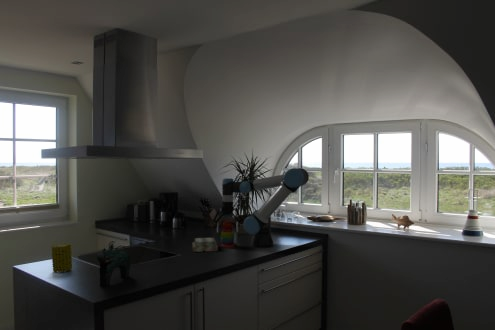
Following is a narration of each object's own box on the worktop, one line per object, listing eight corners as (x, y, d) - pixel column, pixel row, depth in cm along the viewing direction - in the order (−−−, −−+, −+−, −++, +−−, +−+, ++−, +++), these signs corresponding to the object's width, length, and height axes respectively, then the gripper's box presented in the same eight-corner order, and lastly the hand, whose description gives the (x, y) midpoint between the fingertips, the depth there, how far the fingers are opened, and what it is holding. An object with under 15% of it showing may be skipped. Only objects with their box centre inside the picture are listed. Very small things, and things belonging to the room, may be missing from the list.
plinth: (215, 245, 270) (215, 237, 270) (217, 250, 254) (217, 241, 254) (192, 246, 267) (192, 237, 267) (192, 251, 252) (192, 242, 252)
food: (57, 277, 202) (51, 274, 210) (80, 267, 210) (73, 265, 218) (49, 249, 200) (43, 247, 208) (72, 241, 208) (66, 239, 216)
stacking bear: (233, 248, 261) (233, 222, 261) (218, 248, 263) (218, 221, 263) (237, 245, 271) (236, 219, 271) (222, 244, 273) (222, 219, 273)
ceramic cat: (105, 288, 180) (104, 244, 180) (94, 286, 182) (93, 243, 182) (132, 276, 198) (132, 236, 198) (122, 275, 201) (122, 236, 201)
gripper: (244, 200, 273) (244, 230, 273) (209, 200, 269) (208, 231, 269) (246, 201, 265) (246, 232, 265) (209, 201, 261) (209, 233, 262)
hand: (227, 232), depth 267 cm, fingers open, 13 cm apart
